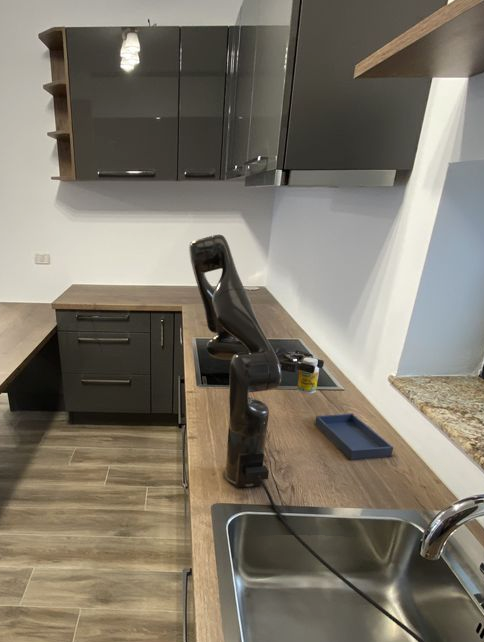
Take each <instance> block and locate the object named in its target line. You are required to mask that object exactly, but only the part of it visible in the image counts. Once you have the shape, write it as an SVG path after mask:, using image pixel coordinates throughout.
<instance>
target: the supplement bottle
mask: <svg viewBox="0 0 484 642" xmlns="http://www.w3.org/2000/svg"><path fill="white" fill-rule="evenodd" d="M317 359H318V358H315V357H312V358H304V359H303V363H306V364H310V365H314V366H315V372H314V373H308V372H304V371H298V379H297V386H296V388H297V391H298V392H299V393H302V394H306V395H308V394H315V393H316V392H317V389H318V380H319V373H320V368H318V367H317V364H318V360H317Z"/></svg>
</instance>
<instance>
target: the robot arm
mask: <svg viewBox="0 0 484 642" xmlns="http://www.w3.org/2000/svg"><path fill="white" fill-rule="evenodd" d="M188 254H189V260H190V264H191V265H190V266H191V269H192V272H193V275H194V278H195V282H196V285H197V289H198V292H199V295H200V298H201V300H202V304H203V309H204V313H205V320H206V324H207V329H208V330H209V331H210V332H211V333H213V334H215V335H213V336H212V337H211V338H210V339H209V341H208V342H207V343H206V351H207V353H208V354H209V355H210V356H211V357H213V358H215V359H218V360H230V364H229V391H228V392H229V395H228V403H229V413H228V414H229V418H228V431H227V445H226V446H227V447H226V459H225V471H224V476H225V479H226V480H227V481H228V482H229V483H231V484H233V485H234V486H236V488H238V489H239V488H251V487H260V486H262V488H263V489H264V491H265V494H266V496H267V498H268V501H269V502H270V505H271V507H272V509H273V510H274V512H275V513H276V514H277V516H278V518H279V519H280V521H281V522H282V523H283V525H284V526H285V527H286V529H287V530H288V531H289V532H290V533H291V534H292V536H294V538H295V539H296V540H297V541H298V542H299V543H300V544H301V545H302V546H303V547H304V548H305V549H306V550H307V551H308V552H309V553H310V554H311V555H312V556H313V557H314V558H315V559H317V560H318V561H319V562H320V563H321V564H322V565H323V566H324V567H326V568H327V569H328V570H329V571H330V572H331V573H333V575H335V576H336V577H337V578H339V580H341V581H342V582H343V583H344V584H345V585H347V586H348V587H349V588H351V590H353V591H354V592H356V594H358V595H359V596H361V597H362V598H363V599H364V600H366V601H367V602H368V603H369V604H371V605H372V606H373V607H374V608H375V609H377V610H378V611H379V612H380V613H382V614H383V615H384V616H385V617H387V618H388V619H389V620H391V621H392V622H393V623H394V624H396V625H397V626H398V627H400V628H401V629H402V630H403V631H405V632H406V633H407V634H408V635H410V636H411V637H412V638H413V639H415V640H416V641H417V642H426V641H425V640H424V639H422V638H421V637H420V636H419V635H418V634H416V632H414V631H413V630H412V629H410V628H409V627H408V626H407V625H405V624H404V623H403V622H402V621H400V620H399V619H398V618H397V617H395V616H393V615H392V614H391V613H390V612H389V611H387V610H386V609H385V608H384V607H382V606H381V605H379V604H378V603H377V601H375V600H373V598H371V597H370V596H368V595H367V594H366V593H364V592H363V591H362V590H361V589H360V588H358V587H357V586H355V584H353V583H352V582H351V581H349V580H348V579H347V578H346V577H345V576H343V575H342V574H341V573H340V572H338V571H337V570H336V569H335V568H334V567H332V566H331V565H330V564H329V563H327V561H325V560H324V559H323V558H322V557H321V556H320V555H319V554H318V553H316V552H315V550H313V549H312V547H310V546H309V544H307V543H306V542H305V541H304V540H303V539H302V538H301V537H300V536H299V535H298V534H297V533H296V532H295V530H294V529H293V528H292V527H291V525H289V523H288V522H287V521H286V519H285V518H284V516H283V515H282V513H281V512H280V510H279V509H278V508H277V506H276V503H275V502H274V500H273V498H272V495H271V493H270V491H269V489H268V486H267V485H266V484H265V482H264V480H269V474H270V470H269V469H268V467H267V466H266V465H265V464H264V460H265V453H266V442H267V433H268V424H269V417H270V409H269V407H268V405H267V404H266V403H264V402H263V401H262V400H259V399H257V398H256V399H255V398H252V397H250V393H257V392H258V393H259V392H268V391H272V390H275V389H277V388H279V387H280V385H281V382H282V375H283V374H282V371H284V372H289V373H296V372H299V371H304V372H308V373H314V372H315V366H314V365H310V364H306V363H303V359H304V358H314V357H313V356H314V355H313V354H311V353H308V352H305V351H302V350H297V349H295V350H294V351H286V348H285V346H284V345H283V344H278V343H274V342H270V341H269V340H268V338H267V336H266V334H265V332H264V331H263V329H262V326H261V324H260V323H259V320H258V317H257V315H256V312H255V311H254V310H255V309H254V307H253V305H252V302H251V300H250V297H249V295H248V293H247V291H246V288H245V286H244V284H243V282H242V280H241V277H240V275H239V273H238V269H237V267H236V263H235V260H234V257H233V255H232V252H231V248H230V245H229V243H228V241H227V239H226V237H225V236H224V235H222V234H214V235H209V236H206V237H203V238H199V239H195V240H193V241H191V242H190V243H189V245H188ZM218 270H221V275H220V277H219V280H218V282H217V283H216V286H215V287H213V286H212V284H211V283H210V282H209V280H208V278H207V276H206V273H209V272H213V271H218ZM316 359H317V360H318V364H317V367H318V368H319V369H322V368H324V365H325V360H323V359H320V358H316Z"/></svg>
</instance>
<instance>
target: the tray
mask: <svg viewBox="0 0 484 642" xmlns="http://www.w3.org/2000/svg"><path fill="white" fill-rule="evenodd" d="M314 425H315V426H316V428H318V429H319V430H320V431H321V432H322V433H323V434H324V435H325V436H326V437H327V438H328V439H329V440H330V441H331V442H332V443H333V444H334V445H335V446H336V447H337V448H338V449H339V450H340V451H341V452H342V453H343V454H344V455H345V456H346V457H347V458H348V459H349V461H350V460H351V461H352V460H353V461H355V460H364V459H375V458H387V457H389V458H390V457H392V455H393V451H394V446H393V445H392V444H390V443H389V442H388V441H387V440H385V439H384V438H383V437H382V436H380V435H379V434H378V433H377V432H375V431H374V430H373V429H372V428H371V427H369V426H368V425H367V424H366V423H365V422H363V421H362V420H361V419H360V418H359V417H358V416H356V415H355V414H354V413H342V414H341V413H340V414H327V415H316V417H315V422H314Z"/></svg>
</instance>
